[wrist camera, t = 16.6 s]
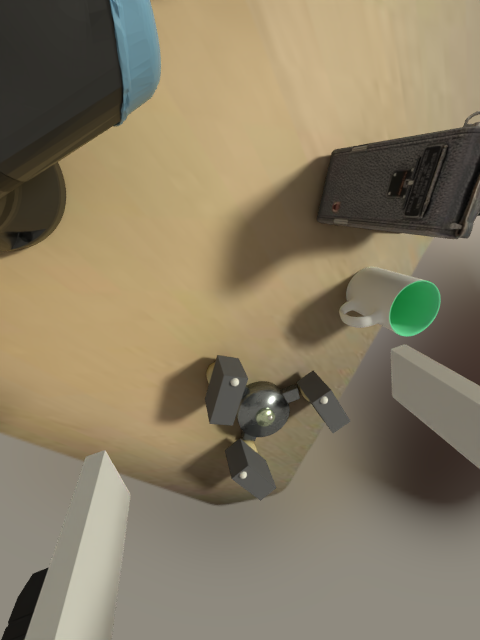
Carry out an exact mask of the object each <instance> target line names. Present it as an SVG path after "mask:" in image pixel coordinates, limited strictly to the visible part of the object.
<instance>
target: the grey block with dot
mask: <svg viewBox="0 0 480 640" xmlns="http://www.w3.org/2000/svg"><path fill="white" fill-rule="evenodd" d="M206 376H207V380H208V384H209V386H208V390H207V393H206V397H205V402H206V407H207V412H208V417H209V422H210V424H220V425H232V426H233V423H234V420H235V417H236V414H237V411H238V408H239V405H240V402H241V399H242V396H243V393H244V390H245V386H246V383H247V380H248V377H247V375H246V373H245V371H244V369H243V367H242V365H241V362H240V360H239V358H233V357H226V356H220V355H217V358H216V362H214V363H212V364H211V365H210V366H209V367H208V369H207V372H206Z"/></svg>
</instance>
